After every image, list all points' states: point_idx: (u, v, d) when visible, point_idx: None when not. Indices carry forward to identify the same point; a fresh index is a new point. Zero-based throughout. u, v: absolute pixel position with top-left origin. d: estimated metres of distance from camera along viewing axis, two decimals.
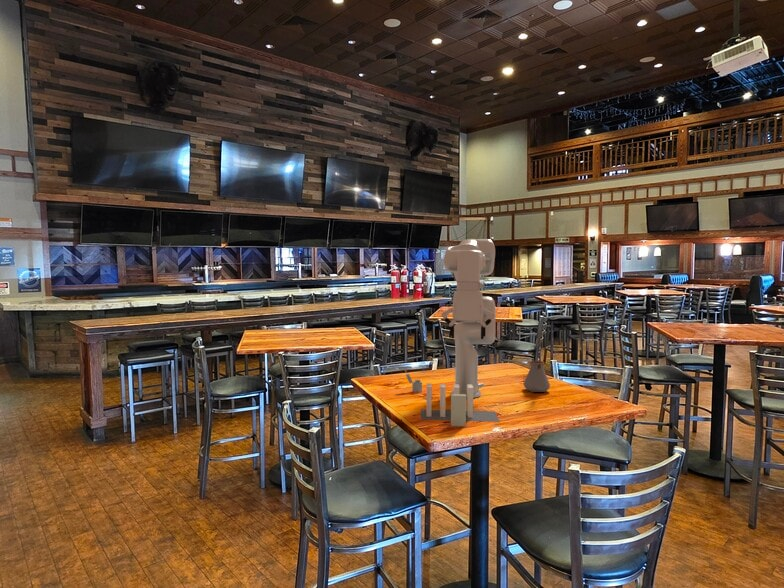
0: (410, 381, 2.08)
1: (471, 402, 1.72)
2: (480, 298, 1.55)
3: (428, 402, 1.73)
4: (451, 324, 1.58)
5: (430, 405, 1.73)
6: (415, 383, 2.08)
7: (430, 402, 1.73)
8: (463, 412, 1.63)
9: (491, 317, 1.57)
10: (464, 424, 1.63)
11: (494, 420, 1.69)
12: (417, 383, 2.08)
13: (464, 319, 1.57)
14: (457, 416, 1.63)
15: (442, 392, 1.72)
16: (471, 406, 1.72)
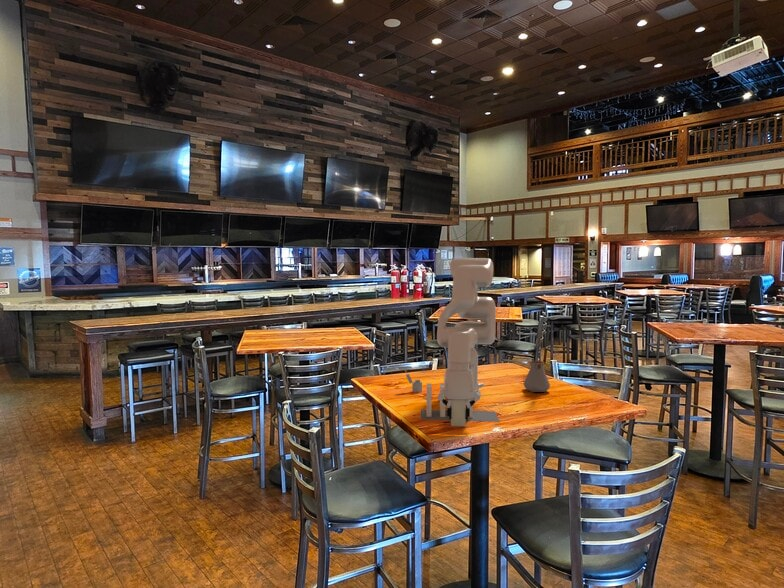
0: (410, 381, 2.08)
1: None
2: (471, 378, 1.61)
3: (428, 402, 1.73)
4: (449, 406, 1.63)
5: (430, 405, 1.73)
6: (415, 383, 2.08)
7: (430, 402, 1.73)
8: (463, 412, 1.63)
9: (476, 399, 1.63)
10: (464, 424, 1.63)
11: (494, 420, 1.69)
12: (417, 383, 2.08)
13: (455, 398, 1.62)
14: (457, 416, 1.63)
15: None
16: (471, 406, 1.72)
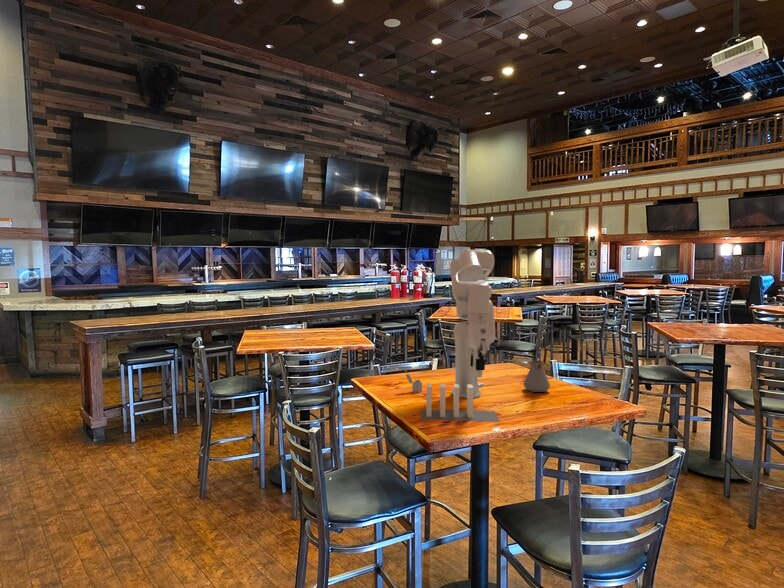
0: (410, 381, 2.08)
1: (471, 402, 1.72)
2: (476, 329, 1.66)
3: (428, 402, 1.73)
4: (471, 353, 1.74)
5: (430, 405, 1.73)
6: (415, 383, 2.08)
7: (430, 402, 1.73)
8: None
9: (482, 352, 1.64)
10: (476, 374, 1.69)
11: (494, 420, 1.69)
12: (417, 383, 2.08)
13: (471, 346, 1.71)
14: (474, 365, 1.71)
15: (442, 392, 1.72)
16: (471, 406, 1.72)
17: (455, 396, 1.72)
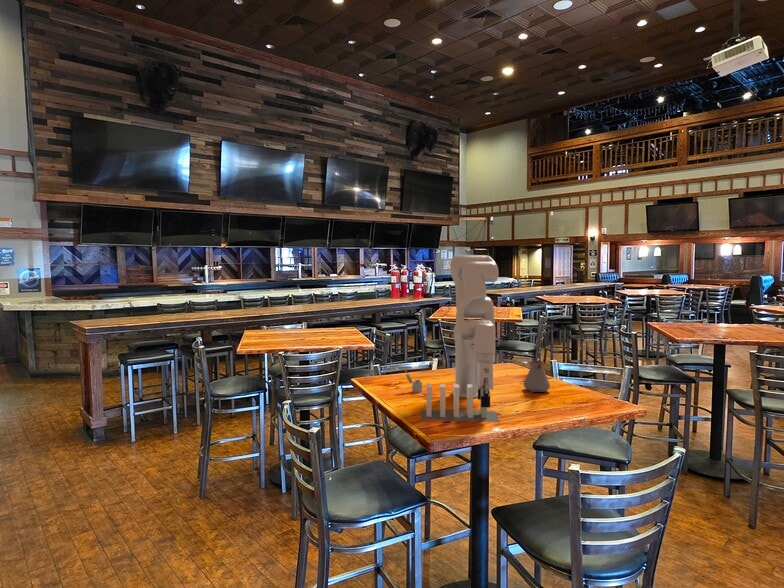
0: (410, 381, 2.08)
1: (471, 402, 1.72)
2: (480, 368, 1.70)
3: (428, 402, 1.73)
4: (478, 386, 1.79)
5: (430, 405, 1.73)
6: (415, 383, 2.08)
7: (430, 402, 1.73)
8: None
9: (485, 389, 1.66)
10: (481, 414, 1.72)
11: (494, 420, 1.69)
12: (417, 383, 2.08)
13: None
14: None
15: (442, 392, 1.72)
16: (471, 406, 1.72)
17: (455, 396, 1.72)
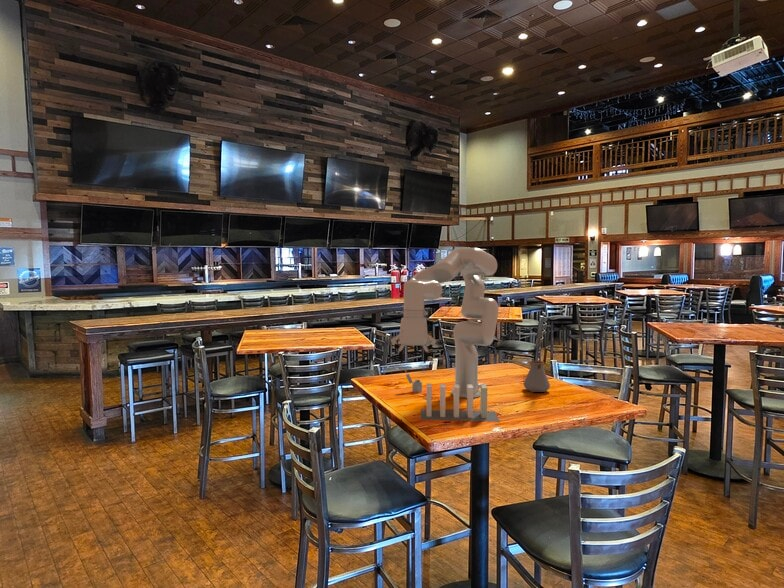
0: (410, 381, 2.08)
1: (471, 402, 1.72)
2: (424, 324, 1.72)
3: (428, 402, 1.73)
4: (400, 349, 1.74)
5: (430, 405, 1.73)
6: (415, 383, 2.08)
7: (430, 402, 1.73)
8: (481, 402, 1.73)
9: (433, 343, 1.74)
10: (481, 414, 1.72)
11: (494, 420, 1.69)
12: (417, 383, 2.08)
13: (410, 343, 1.73)
14: (481, 405, 1.75)
15: (442, 392, 1.72)
16: (471, 406, 1.72)
17: (455, 396, 1.72)
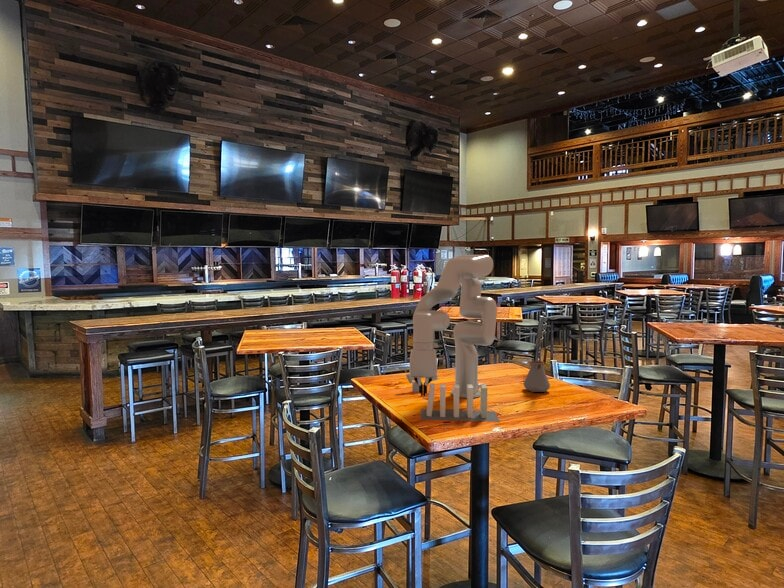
0: (410, 381, 2.08)
1: (471, 402, 1.72)
2: (434, 357, 1.72)
3: (430, 402, 1.73)
4: (420, 383, 1.74)
5: (431, 405, 1.73)
6: (415, 383, 2.08)
7: (432, 402, 1.73)
8: (481, 402, 1.73)
9: (434, 379, 1.74)
10: (481, 414, 1.72)
11: (494, 420, 1.69)
12: None
13: (420, 375, 1.73)
14: (481, 405, 1.75)
15: (442, 392, 1.72)
16: (471, 406, 1.72)
17: (455, 396, 1.72)
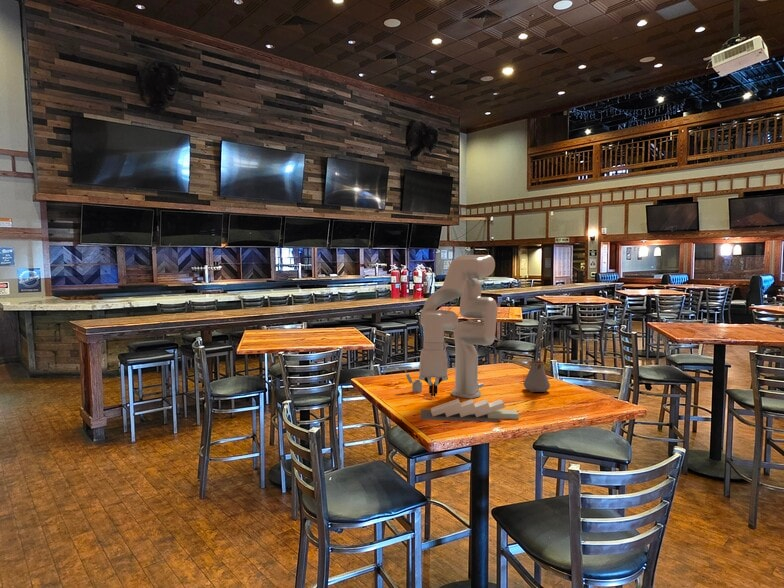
0: (410, 381, 2.08)
1: (490, 410, 1.72)
2: (444, 357, 1.72)
3: (445, 409, 1.73)
4: (430, 383, 1.74)
5: (443, 412, 1.73)
6: (415, 383, 2.08)
7: (446, 411, 1.73)
8: (502, 412, 1.72)
9: (444, 379, 1.74)
10: (490, 413, 1.72)
11: (494, 420, 1.69)
12: (417, 383, 2.08)
13: (430, 375, 1.73)
14: (497, 411, 1.74)
15: (469, 406, 1.72)
16: (486, 412, 1.72)
17: (479, 406, 1.72)
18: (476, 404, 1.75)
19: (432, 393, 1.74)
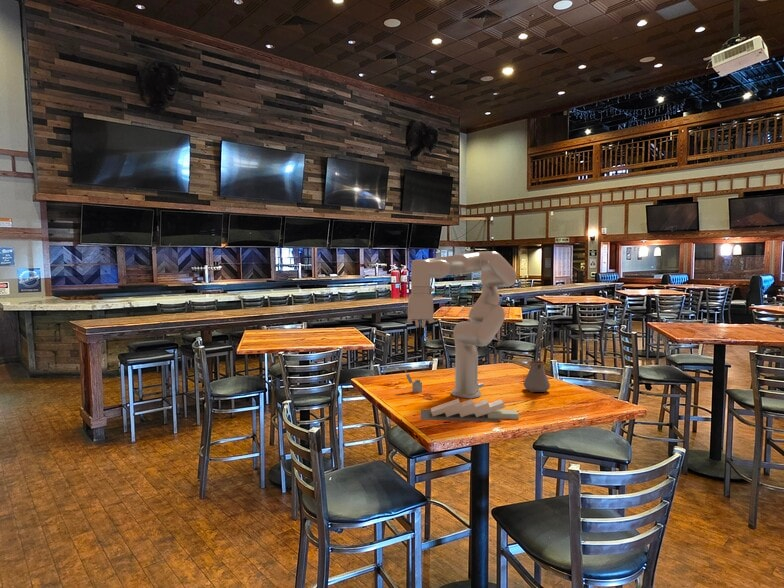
0: (410, 381, 2.08)
1: (490, 410, 1.72)
2: (430, 300, 1.85)
3: (445, 409, 1.73)
4: (417, 326, 1.86)
5: (443, 412, 1.73)
6: (415, 383, 2.08)
7: (446, 411, 1.73)
8: (502, 412, 1.72)
9: (430, 321, 1.87)
10: (490, 413, 1.72)
11: (494, 420, 1.69)
12: (417, 383, 2.08)
13: (417, 318, 1.85)
14: (497, 411, 1.74)
15: (469, 406, 1.72)
16: (486, 412, 1.72)
17: (479, 406, 1.72)
18: (476, 404, 1.75)
19: (419, 335, 1.86)
